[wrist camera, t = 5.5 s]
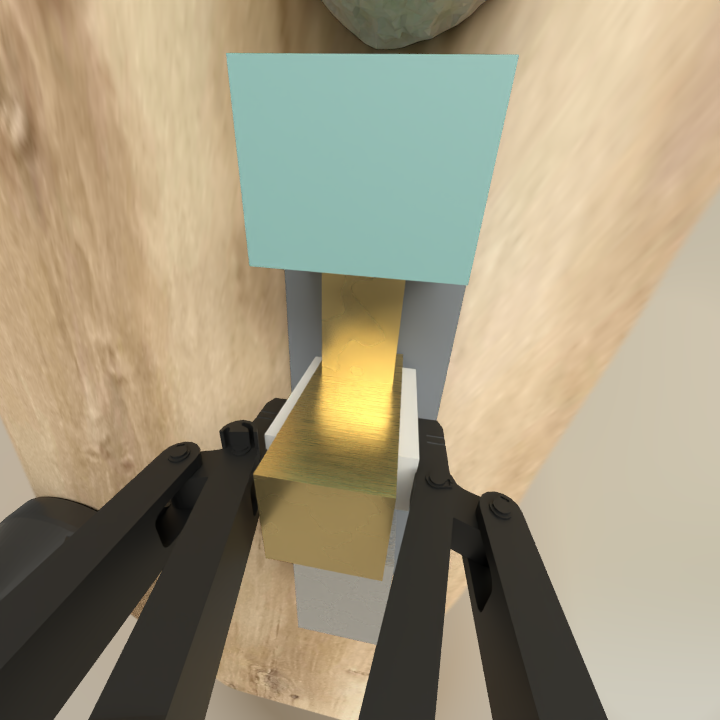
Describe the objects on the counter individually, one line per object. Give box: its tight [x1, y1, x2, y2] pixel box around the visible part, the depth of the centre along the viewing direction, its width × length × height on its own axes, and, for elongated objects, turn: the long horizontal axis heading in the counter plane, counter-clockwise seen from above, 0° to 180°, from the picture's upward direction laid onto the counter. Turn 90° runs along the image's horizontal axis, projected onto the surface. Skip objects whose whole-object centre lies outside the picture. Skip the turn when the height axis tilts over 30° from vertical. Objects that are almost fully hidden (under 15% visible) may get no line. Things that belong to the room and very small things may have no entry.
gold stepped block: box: [253, 273, 406, 581], centre depth 14 cm, size 4×20×9 cm, turn 177°
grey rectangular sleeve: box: [293, 509, 397, 645], centre depth 21 cm, size 6×10×5 cm, turn 177°
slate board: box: [285, 269, 466, 574], centre depth 19 cm, size 9×32×1 cm, turn 177°
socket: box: [226, 53, 519, 285], centre depth 10 cm, size 7×5×6 cm
